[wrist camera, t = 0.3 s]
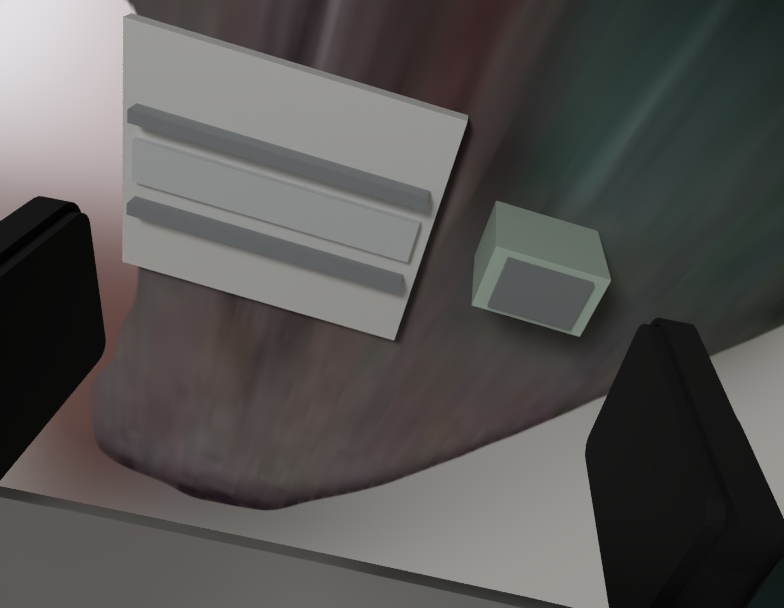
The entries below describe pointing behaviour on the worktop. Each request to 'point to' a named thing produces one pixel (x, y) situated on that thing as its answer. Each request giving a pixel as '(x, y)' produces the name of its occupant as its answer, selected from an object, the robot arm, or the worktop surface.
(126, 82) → the rail plate
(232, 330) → the worktop surface
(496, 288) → the block
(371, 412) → the worktop surface
